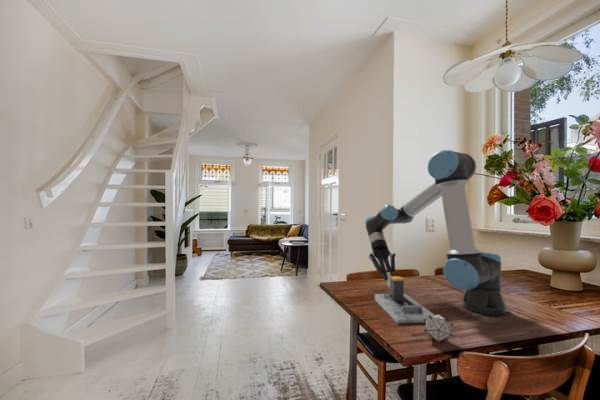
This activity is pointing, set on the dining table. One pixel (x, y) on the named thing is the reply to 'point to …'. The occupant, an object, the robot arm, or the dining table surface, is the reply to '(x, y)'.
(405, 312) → the fader console
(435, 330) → the game die
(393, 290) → the fader knob
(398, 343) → the dining table surface
